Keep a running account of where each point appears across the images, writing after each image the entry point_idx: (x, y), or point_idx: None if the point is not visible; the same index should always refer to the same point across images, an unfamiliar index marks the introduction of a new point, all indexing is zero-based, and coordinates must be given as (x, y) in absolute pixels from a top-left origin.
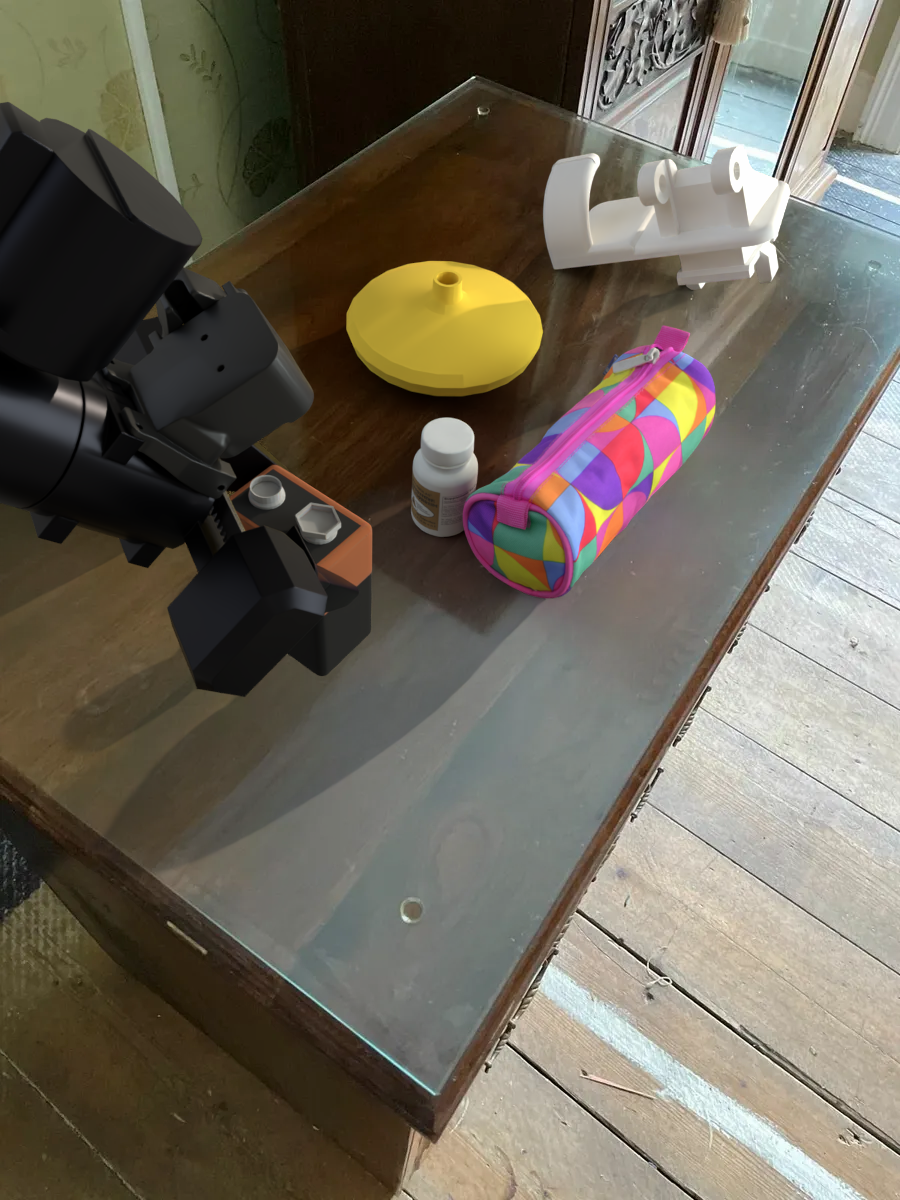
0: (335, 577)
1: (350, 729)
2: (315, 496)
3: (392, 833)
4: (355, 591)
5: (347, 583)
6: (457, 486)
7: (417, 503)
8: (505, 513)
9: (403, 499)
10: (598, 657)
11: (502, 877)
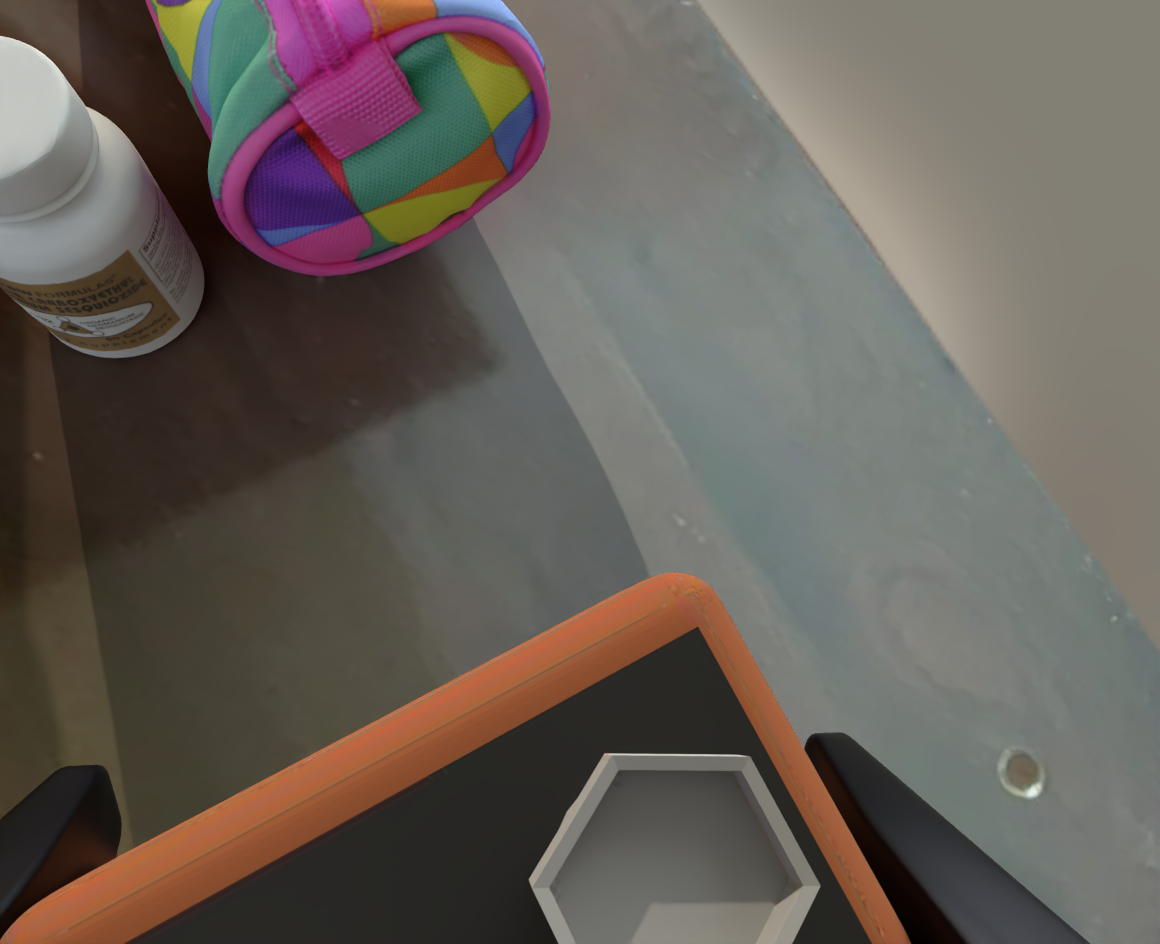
0: (957, 880)
1: None
2: (394, 793)
3: (868, 747)
4: (871, 757)
5: (886, 796)
6: (140, 196)
7: (93, 323)
8: (348, 123)
9: (20, 349)
10: (644, 189)
11: (1007, 583)
